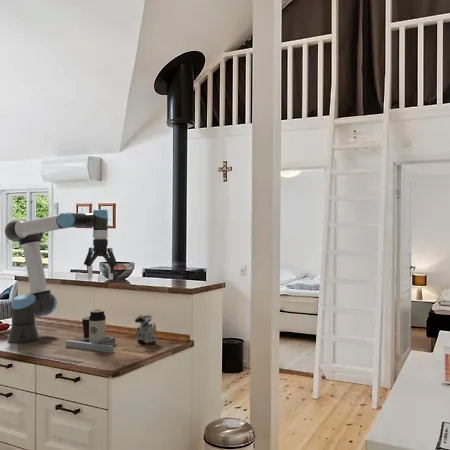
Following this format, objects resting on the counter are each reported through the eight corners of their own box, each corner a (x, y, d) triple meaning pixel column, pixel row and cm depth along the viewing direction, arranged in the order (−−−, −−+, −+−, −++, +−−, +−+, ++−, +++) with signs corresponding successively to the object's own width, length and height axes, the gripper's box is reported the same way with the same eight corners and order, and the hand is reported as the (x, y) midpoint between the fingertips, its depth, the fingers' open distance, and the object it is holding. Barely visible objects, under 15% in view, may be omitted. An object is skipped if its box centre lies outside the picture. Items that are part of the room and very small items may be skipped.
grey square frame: (79, 347, 249) (79, 340, 249) (95, 342, 261) (95, 335, 261) (99, 349, 244) (99, 342, 244) (115, 344, 255) (115, 337, 255)
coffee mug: (88, 338, 269) (88, 320, 269) (78, 336, 274) (78, 318, 274) (105, 334, 278) (105, 317, 278) (95, 332, 283) (95, 315, 283)
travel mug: (97, 343, 258) (97, 308, 258) (108, 345, 254) (108, 309, 254) (85, 346, 251) (85, 310, 251) (97, 348, 247) (97, 312, 247)
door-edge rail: (65, 346, 250) (65, 340, 250) (68, 345, 252) (68, 340, 252) (110, 352, 238) (110, 346, 238) (113, 351, 240) (113, 345, 240)
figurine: (129, 345, 254) (129, 315, 254) (144, 340, 264) (145, 312, 264) (143, 347, 249) (143, 317, 249) (158, 343, 259) (158, 314, 259)
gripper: (124, 238, 262) (123, 279, 262) (86, 238, 273) (86, 277, 272) (115, 239, 255) (115, 280, 255) (77, 238, 266) (77, 278, 266)
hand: (100, 278), depth 264 cm, fingers open, 13 cm apart
